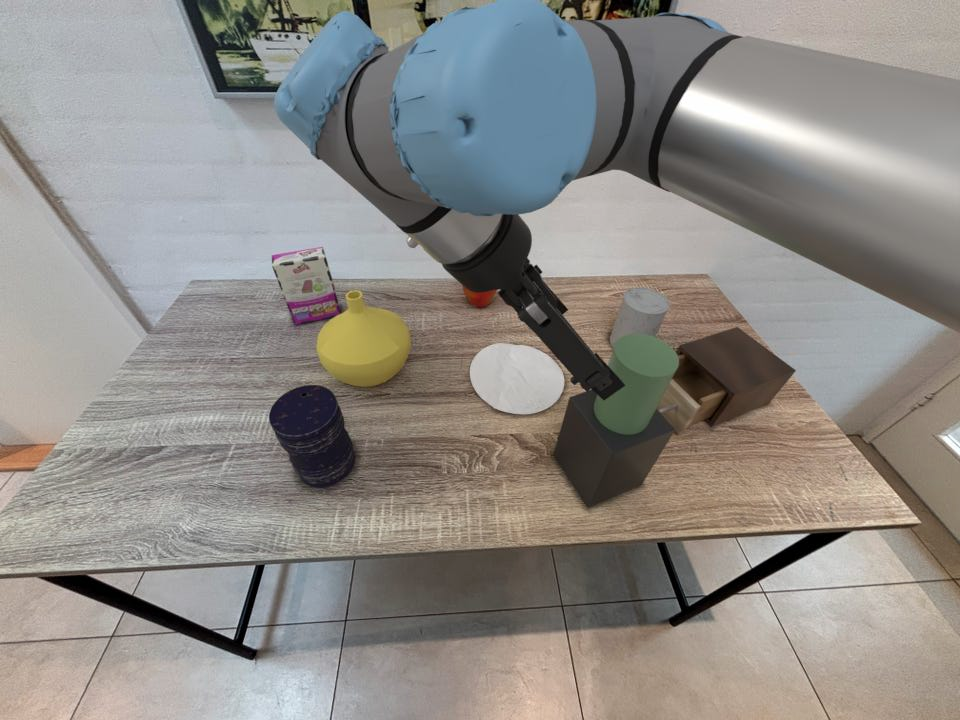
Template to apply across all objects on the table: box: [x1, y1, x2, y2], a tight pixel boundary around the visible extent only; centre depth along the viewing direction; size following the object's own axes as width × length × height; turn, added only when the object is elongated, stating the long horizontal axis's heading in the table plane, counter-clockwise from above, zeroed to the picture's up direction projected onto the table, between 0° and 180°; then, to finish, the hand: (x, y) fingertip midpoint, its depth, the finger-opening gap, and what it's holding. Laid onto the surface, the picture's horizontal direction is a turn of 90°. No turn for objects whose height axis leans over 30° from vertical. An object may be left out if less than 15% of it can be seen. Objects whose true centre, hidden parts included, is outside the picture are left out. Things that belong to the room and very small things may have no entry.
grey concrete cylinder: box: [609, 286, 671, 349], centre depth 92 cm, size 10×10×12 cm
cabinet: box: [675, 326, 797, 428], centre depth 82 cm, size 16×14×10 cm
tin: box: [594, 334, 679, 435], centre depth 56 cm, size 8×8×12 cm
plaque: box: [469, 342, 565, 415], centre depth 87 cm, size 20×20×2 cm
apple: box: [461, 284, 498, 308], centre depth 101 cm, size 9×9×12 cm
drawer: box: [656, 354, 729, 436], centre depth 79 cm, size 20×13×8 cm, turn 113°
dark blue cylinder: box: [268, 384, 357, 490], centre depth 66 cm, size 10×10×15 cm
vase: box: [315, 290, 412, 388], centre depth 81 cm, size 18×18×19 cm
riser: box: [553, 389, 676, 509], centre depth 66 cm, size 11×11×16 cm
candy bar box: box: [271, 246, 342, 326], centre depth 94 cm, size 11×5×16 cm, turn 112°
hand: (583, 349), depth 48 cm, fingers open, 13 cm apart
